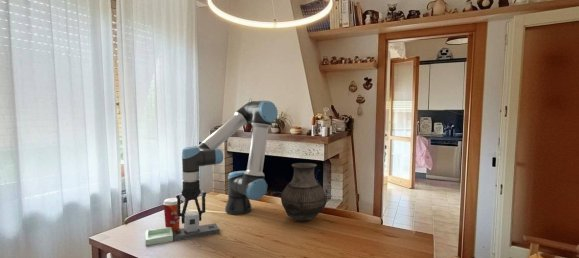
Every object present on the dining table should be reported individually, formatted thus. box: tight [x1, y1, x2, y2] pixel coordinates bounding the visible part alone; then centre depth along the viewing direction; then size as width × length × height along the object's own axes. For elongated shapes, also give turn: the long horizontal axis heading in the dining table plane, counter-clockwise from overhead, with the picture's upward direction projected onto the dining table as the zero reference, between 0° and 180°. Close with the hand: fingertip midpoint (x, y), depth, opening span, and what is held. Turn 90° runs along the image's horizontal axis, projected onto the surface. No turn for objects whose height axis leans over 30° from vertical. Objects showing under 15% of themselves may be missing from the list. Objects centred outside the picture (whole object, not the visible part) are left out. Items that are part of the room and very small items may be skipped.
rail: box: [172, 222, 220, 242], centre depth 138 cm, size 20×8×2 cm, turn 116°
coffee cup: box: [162, 197, 181, 233], centre depth 142 cm, size 8×8×15 cm
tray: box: [145, 226, 174, 246], centre depth 133 cm, size 11×11×2 cm
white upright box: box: [185, 211, 198, 234], centre depth 137 cm, size 5×5×10 cm
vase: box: [280, 162, 328, 222], centre depth 156 cm, size 25×25×30 cm
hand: (191, 228), depth 137 cm, fingers closed on white upright box, 5 cm apart
